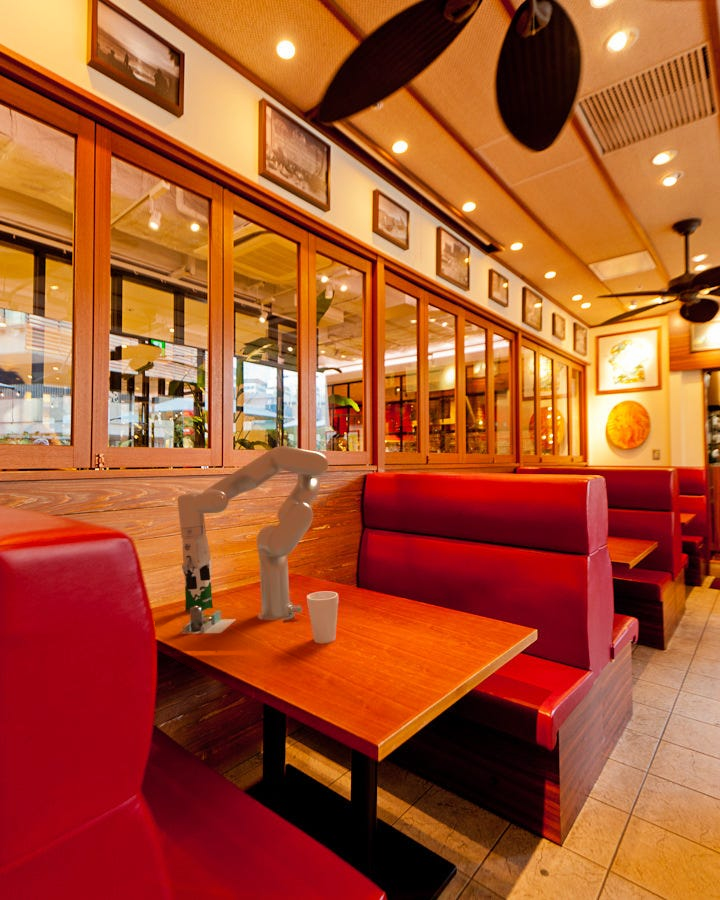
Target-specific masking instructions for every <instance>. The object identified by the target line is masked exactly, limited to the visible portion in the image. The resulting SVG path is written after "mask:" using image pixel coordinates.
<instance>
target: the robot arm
mask: <svg viewBox="0 0 720 900" xmlns="http://www.w3.org/2000/svg"><path fill="white" fill-rule="evenodd" d="M329 465H330V464H329V460H328V458H327V457H326V455H324V454H323V453H321V452H320V451H319V452H318V451H314V450H308V449H302V448H298V447H294V446H289V445H282V446H281V445H280V446H275V447H273V448H272V449H269V450H268V451H266V452H265V453H263V454H261V455H260V456H259V457H257V458H254V460H253V461H251V462H249V463H248V464H246V465H244V466H243V467H241V468H239V469H238V470H236V471H234V472H233V473H232V474H229V475H227V476H226V477H224V478H222V479H220V480H219V481H217V482H216V483H215V484H212V485H211V486H210V487H208V488H207V489H205V490H204V491H203V492H202V493H201V492H200V493H199V492H189V493H183V494H180V495H178V497H177V509H178V517H179V526H180V535H181V536H180V537H181V539H182V561H183V563H182V564H183V565H182V564H181V568H182V572H183V575H184V574H185V576H184V578H185V577H186V586H187V590H191V589H197V580H196V576H195V571H196V568H197V569H199V568H200V569H199V570H200V579H201V581H205V580H210V571H209V566H210V565H209V562H210V561H212V560H211V552H210V546H209V540H208V538H207V532H206V531H207V530H206V522H205V520H206V519H205V514H219V513H222V512H223V511H225V510H226V509H227V508H228V506H229V501H230V500H232V499H233V498H235V497H237V496H239V495H241V494H243V493H246V492H249V491H250V492H251V491H253V490H256V489H257V488H259V487H261V486H262V485H264V484H266V483H267V482H268V481H269V480H271V479H272V478H274V477H276V476H277V475H279V474H280V473H282V472H290V473H295V474H297V482H296V484H295V486H294V488H293V489H292V491H291V492H290V494H289V495H288V497H286V498H285V500H284V501H283V503H282V504H281V506H280V507H279V508H278V511H277V520H278V521H279V522H278V524H277V525H274V524H268V525H265V526H264V527H262V528H261V529H260V531H259V532H258V533H257V537H256V547H257V552H258V558H259V559H258V562H259V575H260V578H259V579H260V593H261V594H260V595H261V599H260V600H261V612H260V613H258V615H257V618H258V619H259V620H263V621H275V620H283V622H286V621H289V620H292V619H293V618H294V617H295V615H296V614H297V613H301V614H302V612H303V608H302V606H301V605H294V604H293V602H292V600H291V601H290V587H289V586H290V585H289V584H290V583H289V581H290V580H289V564H288V563H289V562H288V555H289V554H291V553H292V552H293V551H294V550H295V548H296V547H297V546H298V544H299V543H300V541H301V540H302V538H303V537H304V535H305V534H306V533H307V531H308V530H309V528H310V527H311V525H312V523H313V519H314V511H313V508H312V505H313V503H314V501H315V500H316V498H317V497H318V495H319V492H320V487H321V481H320V480H321V479H320V477H322V476H324V475H325V474H326V473H327V471H328V469H329ZM190 570H192V572H191V571H190Z"/></svg>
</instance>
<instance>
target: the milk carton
mask: <svg viewBox="0 0 720 900" xmlns="http://www.w3.org/2000/svg"><path fill="white" fill-rule="evenodd" d="M212 563H213V561H212V560H210V562H209V565H210V566H209V571H210V580H205V581H201V579H200V570H199V569H200V568H199V569H197V568H196V571H195V576H196V580H197V589H191V590H187V586H186V577H185V574H184V573H183V576H184V589H185V590H184V593H185V596H184V597H185V602H184V603H185V610H184V611H185V612H186V611H189V612H190V608H191V607H194V606H201V607H202V611H203V612H204V611H205V610H206V609H207V610H208V609H213V608H214V605H213V596H212V573H211V571H212ZM182 565H183V563H182V564H181V566H182ZM190 571H191V572H192V570H190Z"/></svg>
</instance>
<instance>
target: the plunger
mask: <svg viewBox="0 0 720 900" xmlns="http://www.w3.org/2000/svg"><path fill="white" fill-rule="evenodd" d="M211 615H212V614H210V615H203V617H202V622H208V621H211Z"/></svg>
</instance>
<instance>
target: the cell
mask: <svg viewBox="0 0 720 900" xmlns="http://www.w3.org/2000/svg"><path fill="white" fill-rule="evenodd" d="M189 618H190V619H189V620H190V622H191V631H192V632H197V631H201V627H202V626H203V623H202V607H201V606H194V607H191V608H190V611H189Z"/></svg>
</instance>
